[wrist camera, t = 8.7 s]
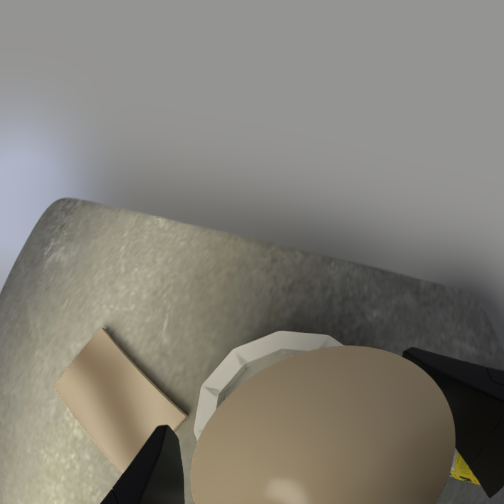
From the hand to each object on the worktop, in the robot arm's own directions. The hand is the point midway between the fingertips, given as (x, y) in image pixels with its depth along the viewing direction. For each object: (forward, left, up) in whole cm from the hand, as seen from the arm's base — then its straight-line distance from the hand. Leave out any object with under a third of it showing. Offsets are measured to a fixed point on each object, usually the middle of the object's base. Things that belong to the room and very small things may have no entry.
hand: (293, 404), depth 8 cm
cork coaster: (-8, +8, -8) cm, 14 cm away
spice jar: (-1, -1, -7) cm, 7 cm away
